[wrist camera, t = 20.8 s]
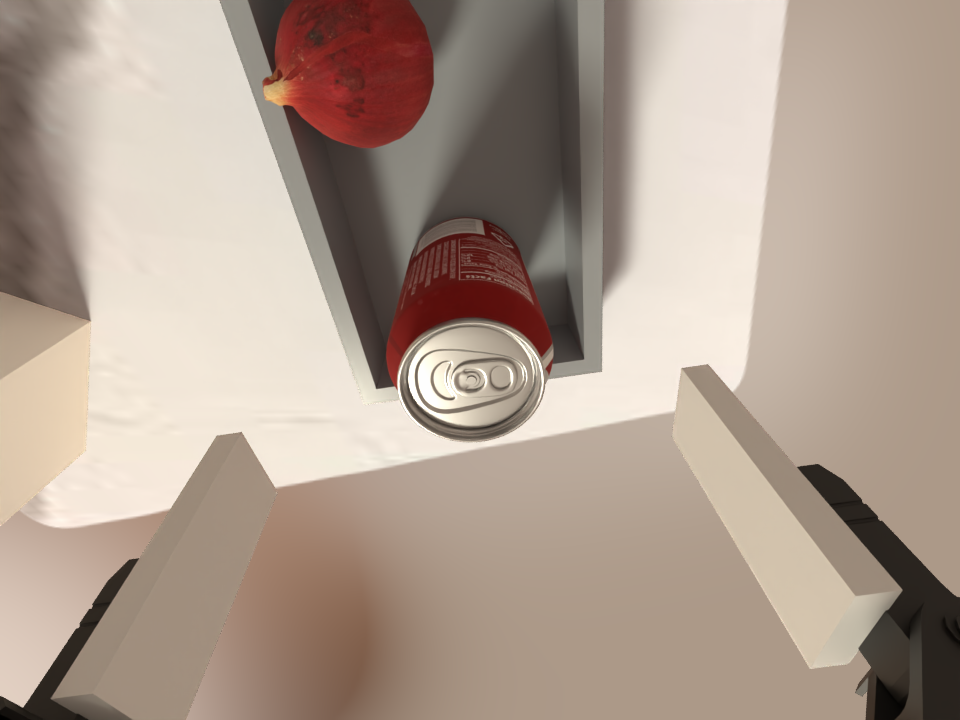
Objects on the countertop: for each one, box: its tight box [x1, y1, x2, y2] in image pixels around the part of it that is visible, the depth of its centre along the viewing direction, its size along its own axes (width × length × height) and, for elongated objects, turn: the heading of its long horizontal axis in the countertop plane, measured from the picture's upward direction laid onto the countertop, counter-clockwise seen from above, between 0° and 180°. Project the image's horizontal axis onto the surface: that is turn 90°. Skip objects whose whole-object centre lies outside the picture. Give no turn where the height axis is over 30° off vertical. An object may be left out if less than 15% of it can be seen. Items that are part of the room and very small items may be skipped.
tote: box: [220, 0, 604, 405], centre depth 22 cm, size 22×14×5 cm, turn 8°
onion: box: [262, 0, 434, 148], centre depth 18 cm, size 6×6×8 cm
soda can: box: [386, 217, 553, 442], centre depth 21 cm, size 7×7×12 cm
